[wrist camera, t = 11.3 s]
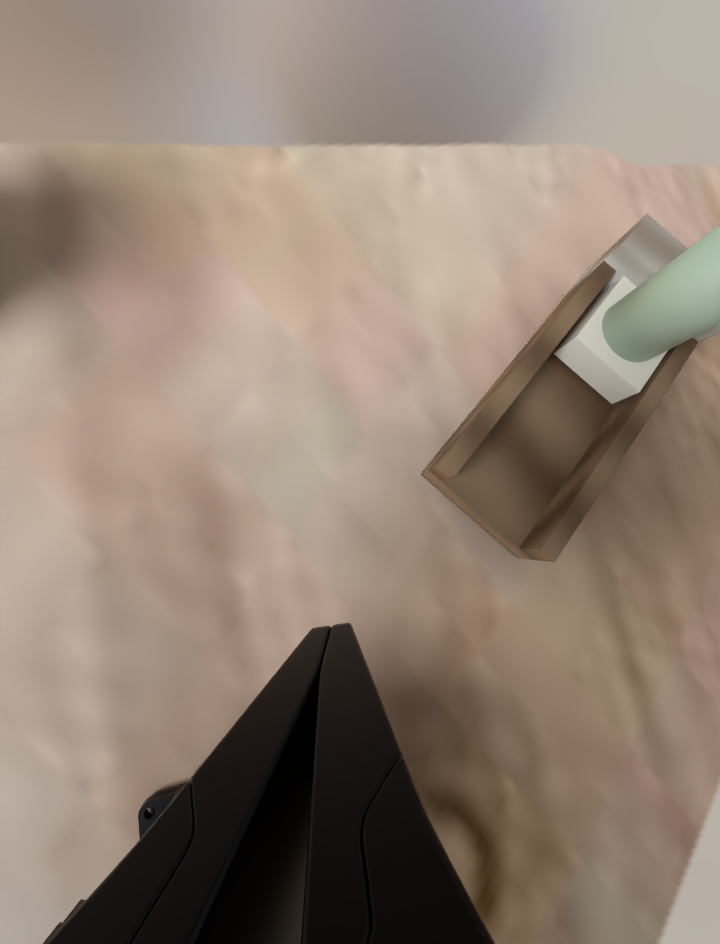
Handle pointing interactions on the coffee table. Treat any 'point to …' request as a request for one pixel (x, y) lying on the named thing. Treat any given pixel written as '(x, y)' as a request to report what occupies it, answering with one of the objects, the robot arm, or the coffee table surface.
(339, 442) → the coffee table surface
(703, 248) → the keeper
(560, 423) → the brown wooden open box
